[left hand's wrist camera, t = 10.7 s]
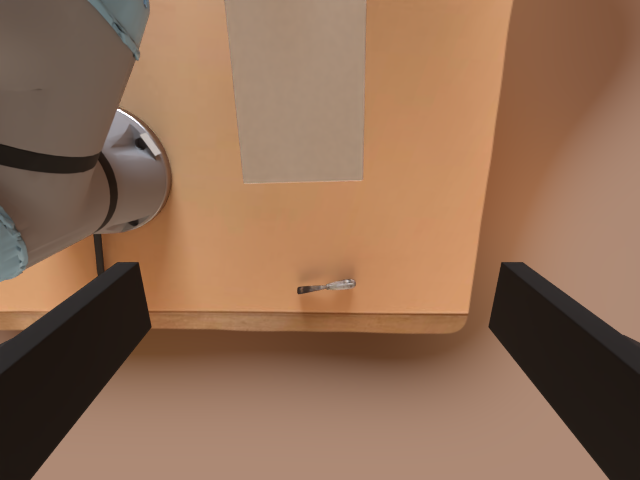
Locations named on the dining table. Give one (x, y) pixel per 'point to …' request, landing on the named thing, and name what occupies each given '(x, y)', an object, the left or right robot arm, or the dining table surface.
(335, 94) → the box
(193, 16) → the dining table surface
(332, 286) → the putty knife
